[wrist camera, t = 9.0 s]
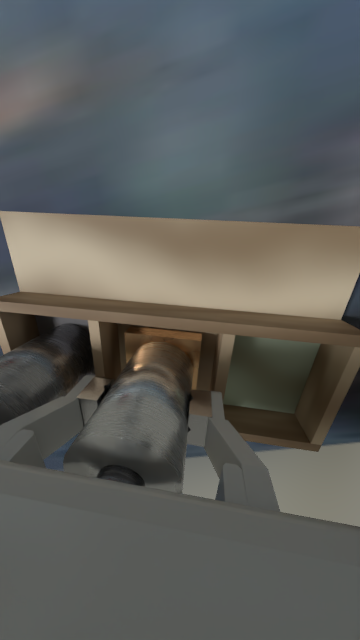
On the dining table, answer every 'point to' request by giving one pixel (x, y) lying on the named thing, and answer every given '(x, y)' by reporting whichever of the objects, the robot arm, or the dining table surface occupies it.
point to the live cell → (140, 423)
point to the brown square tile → (182, 340)
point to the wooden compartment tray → (201, 306)
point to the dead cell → (43, 369)
